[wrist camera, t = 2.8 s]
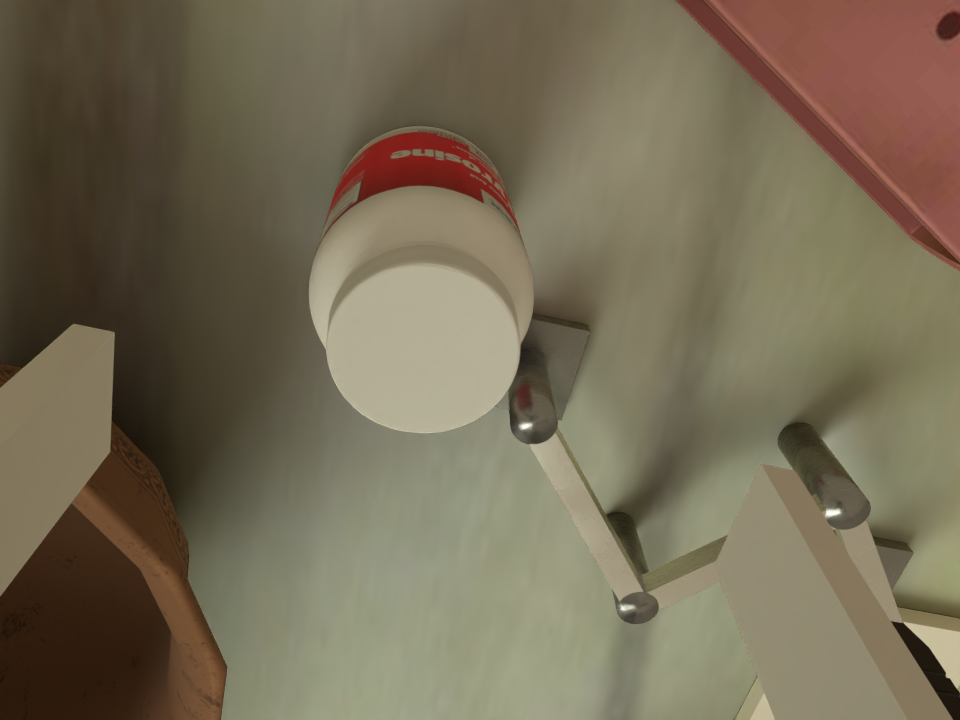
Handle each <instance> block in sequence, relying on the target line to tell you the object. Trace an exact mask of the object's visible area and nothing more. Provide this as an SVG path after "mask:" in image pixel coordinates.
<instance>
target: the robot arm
mask: <svg viewBox="0 0 960 720" xmlns="http://www.w3.org/2000/svg"><path fill="white" fill-rule="evenodd" d="M114 339H115V332H112V331H107V330H102V329H97V328H92V327H87V326H82V325H78V324H73V325H71V326H70V327H69V328H68V329H67V330H66V331H65V332H63V333H62V334H61V335H60V336H59V337H58V338H57V339H55V340H54V341H53V342H52V343H51V344H50V345H49V346H48V347H46V348H45V349H44V350H43V351H42V352H41V353H40V354H38V355H37V356H36V357H35V358H34V359H33V360H32V361H30V362H29V363H28V364H27V365H26V366H25V367H24V368H22V369H21V370H20V371H19V372H18V373H17V374H16V375H15V376H13V377H12V378H11V379H10V380H9V381H8V382H7V383H5V384H4V385H3V386H2V387H1V388H0V596H1V595H2V593H3V592H4V591H5V589H6V588H7V587H8V586H9V584H10V583H11V582H12V580H13V579H14V578H15V576H16V575H17V574H18V572H19V571H20V570H21V568H22V567H23V566H24V564H25V563H26V562H27V561H28V559H29V558H30V557H31V555H32V554H33V553H34V551H35V550H36V549H37V547H38V546H39V545H40V543H41V542H42V541H43V539H44V538H45V537H46V536H47V534H48V533H49V532H50V530H51V529H52V528H53V526H54V525H55V524H56V522H57V521H58V520H59V518H60V517H61V516H62V514H63V513H64V512H65V511H66V509H67V508H68V507H69V505H70V504H71V503H72V501H73V500H74V499H75V497H76V496H77V495H78V493H79V492H80V491H81V489H82V488H83V487H84V486H85V484H86V483H87V482H88V480H89V479H90V478H91V476H92V475H93V474H94V472H95V471H96V470H97V468H98V467H99V466H100V464H101V463H102V462H103V461H104V459H105V458H106V457H107V455H108V454H109V453H110V444H111V418H112V391H113V365H114ZM714 567H715V570H716V572H717V575H718V577H719V580H720V582H721V585H722V587H723V590H724V593H725V595H726V598H727V600H728V603H729V605H730V608H731V610H732V613H733V615H734V618H735V620H736V623H737V625H738V628H739V630H740V633H741V635H742V638H743V640H744V643H745V645H746V648H747V651H748V653H749V656H750V658H751V661H752V663H753V666H754V668H755V671H756V673H757V676H758V678H759V681H760V683H761V686H762V688H763V691H764V693H765V696H766V698H767V701H768V703H769V706H770V709H771V711H772V714H773V716H774V719H775V720H960V693H959V691H958V690H957V688H956V687H955V685H954V684H953V682H952V681H951V679H950V678H946V672H945V670H944V669H943V667H942V666H941V664H940V663H939V661H938V660H937V658H936V657H935V655H934V654H933V652H932V651H931V649H930V648H929V647H928V646H927V645H926V644H925V643H924V642H923V641H922V640H921V639H920V638H919V637H918V636H917V635H915V634H914V633H913V632H912V631H911V630H910V629H909V628H908V627H907V626H906V625H905V624H904V623H899V622H894V621H890V619H889V618H888V616H887V615H886V613H885V612H884V610H883V608H882V607H881V605H880V604H879V602H878V601H877V599H876V597H875V596H874V594H873V593H872V591H871V589H870V588H869V586H868V585H867V583H866V582H865V580H864V578H863V577H862V575H861V574H860V572H859V571H858V569H857V567H856V566H855V564H854V563H853V561H852V559H851V558H850V556H849V555H848V553H847V552H846V550H845V548H844V547H843V545H842V544H841V542H840V541H839V539H838V537H837V536H836V534H835V533H834V531H833V529H832V528H831V526H830V525H829V523H828V522H827V520H826V518H825V517H824V515H823V514H822V512H821V511H820V509H819V507H818V506H817V504H816V503H815V501H814V500H813V498H812V496H811V495H810V493H809V492H808V490H807V488H806V487H805V485H804V484H803V482H802V481H801V479H800V477H799V476H798V474H797V473H796V471H793V470H788V469H783V468H778V467H773V466H768V465H764V464H761V465H760V467H759V469H758V472H757V474H756V476H755V478H754V480H753V482H752V484H751V487H750V489H749V491H748V493H747V495H746V497H745V500H744V502H743V504H742V506H741V508H740V510H739V512H738V515H737V517H736V519H735V521H734V523H733V525H732V528H731V530H730V532H729V534H728V536H727V538H726V541H725V543H724V545H723V547H722V549H721V551H720V553H719V556H718V558H717V560H716V562H715V564H714Z"/></svg>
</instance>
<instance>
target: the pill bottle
mask: <svg viewBox="0 0 960 720" xmlns="http://www.w3.org/2000/svg"><path fill="white" fill-rule="evenodd" d="M309 306H310V311H311V316H312V320H313V323H314V326H315V329H316V331H317V334H318V336H319V338H320V340H321V342H322V344H323V345H324V347H325V348H326V354H327V362H328V366H329V369H330V372H331V375H332V378H333V380H334V382H335V384H336V386H337V387H338V389H339V391H340V392H341V394H342V395H343V396H344V398H345V399H346V400H347V401H348V402H349V403H350V404H351V405H352V406H353V407H354V408H355V409H356V410H357V411H358V412H360V413H361V414H362V415H364V416H365V417H367V418H368V419H370V420H372V421H374V422H376V423H378V424H380V425H383V426H385V427H388V428H391V429H395V430H398V431H404V432H411V433H436V432H444V431H448V430H452V429H455V428H458V427H461V426H464V425H466V424H469V423H471V422H473V421H475V420H477V419H478V418H480V417H481V416H483V415H484V414H486V413H487V412H489V411H490V410H491V409H492V408H493V407H494V406H495V405H496V404H497V403H498V402H499V401H500V400H501V399H502V397H503V396H504V395H505V393H506V392H507V391H508V389H509V387H510V385H511V384H512V382H513V380H514V377H515V375H516V372H517V369H518V365H519V361H520V349H521V343H522V341H523V339H524V337H525V335H526V333H527V330H528V328H529V325H530V321H531V317H532V313H533V306H534V283H533V276H532V271H531V266H530V263H529V259H528V256H527V253H526V250H525V247H524V244H523V241H522V237H521V234H520V231H519V228H518V224H517V221H516V218H515V215H514V212H513V209H512V206H511V203H510V201H509V197H508V194H507V191H506V189H505V186H504V183H503V181H502V179H501V177H500V175H499V173H498V171H497V169H496V168H495V166H494V165H493V163H492V162H491V160H490V159H489V158H488V157H487V156H486V154H485V153H483V152H482V151H481V150H480V149H479V148H478V147H476V146H475V145H474V144H473V143H471V142H470V141H468V140H467V139H465V138H463V137H461V136H460V135H458V134H455V133H453V132H450V131H447V130H444V129H440V128H436V127H428V126H411V127H404V128H399V129H395V130H392V131H389V132H387V133H384V134H382V135H380V136H378V137H376V138H375V139H373V140H372V141H370V142H369V143H367V144H366V145H365V146H364V147H363V148H361V149H360V150H359V151H358V152H357V153H356V154H355V155H354V157H353V158H352V159H351V160H350V162H349V163H348V165H347V166H346V168H345V170H344V172H343V174H342V176H341V178H340V180H339V183H338V185H337V188H336V191H335V194H334V197H333V200H332V203H331V206H330V210H329V213H328V216H327V219H326V222H325V225H324V229H323V232H322V235H321V238H320V242H319V245H318V248H317V251H316V254H315V257H314V261H313V265H312V269H311V275H310V280H309Z"/></svg>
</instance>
